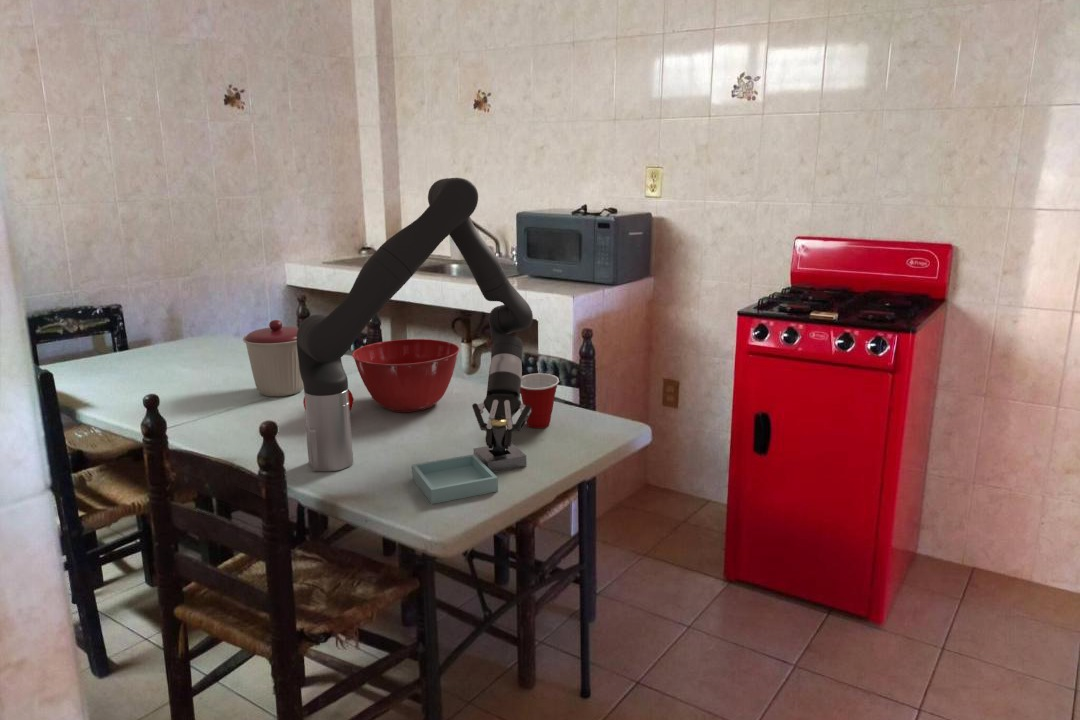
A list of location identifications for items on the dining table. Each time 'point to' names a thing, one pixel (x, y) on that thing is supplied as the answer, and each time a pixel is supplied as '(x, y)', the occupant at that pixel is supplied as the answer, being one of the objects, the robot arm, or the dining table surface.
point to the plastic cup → (539, 397)
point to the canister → (275, 359)
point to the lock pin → (498, 435)
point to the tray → (454, 478)
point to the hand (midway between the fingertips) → (498, 446)
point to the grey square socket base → (501, 458)
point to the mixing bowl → (407, 372)
